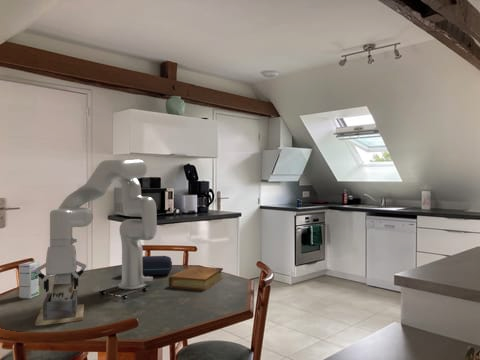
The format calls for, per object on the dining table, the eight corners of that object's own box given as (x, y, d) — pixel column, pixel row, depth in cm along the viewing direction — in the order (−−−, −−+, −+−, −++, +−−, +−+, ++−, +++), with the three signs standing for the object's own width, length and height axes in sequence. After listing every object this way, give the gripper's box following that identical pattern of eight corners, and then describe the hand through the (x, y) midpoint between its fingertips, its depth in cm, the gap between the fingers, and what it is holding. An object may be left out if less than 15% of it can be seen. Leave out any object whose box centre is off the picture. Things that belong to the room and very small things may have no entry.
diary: (189, 277, 198) (189, 266, 198) (222, 279, 193) (222, 268, 193) (168, 288, 176) (168, 275, 176) (205, 291, 171) (205, 278, 171)
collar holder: (84, 307, 148) (83, 288, 149) (82, 320, 134) (82, 299, 135) (41, 312, 143) (41, 293, 143) (35, 326, 129) (35, 304, 129)
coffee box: (69, 305, 135) (76, 260, 142) (49, 305, 133) (57, 260, 140) (70, 308, 143) (77, 266, 150) (52, 308, 141) (59, 265, 148)
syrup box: (30, 298, 160) (30, 264, 160) (18, 298, 161) (18, 264, 161) (40, 294, 166) (40, 261, 166) (28, 294, 167) (28, 261, 167)
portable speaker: (172, 272, 207) (172, 254, 207) (171, 276, 197) (171, 257, 197) (125, 273, 204) (125, 255, 204) (122, 278, 194) (121, 258, 194)
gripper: (86, 240, 146) (87, 284, 146) (36, 242, 139) (36, 289, 139) (86, 242, 139) (86, 289, 139) (33, 245, 132) (33, 295, 132)
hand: (61, 289), depth 139 cm, fingers open, 9 cm apart
